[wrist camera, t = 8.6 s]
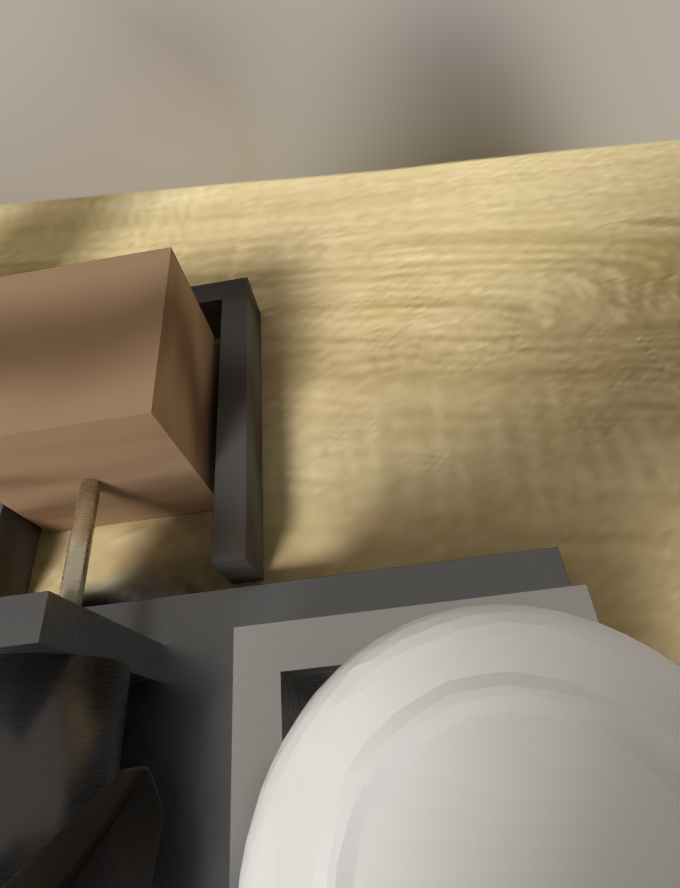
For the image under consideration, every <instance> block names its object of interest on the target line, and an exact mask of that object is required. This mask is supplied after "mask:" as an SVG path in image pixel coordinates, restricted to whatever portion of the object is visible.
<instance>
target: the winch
mask: <svg viewBox="0 0 680 888" xmlns="http://www.w3.org/2000/svg"><path fill="white" fill-rule="evenodd" d="M101 486H102V483H101V481H99V480H97V479H93V478H86V479H82V480H81V482H80V488H79V493H78V498H77V503H76V509H75V514H74V519H73V524H72V530H71V535H70V540H69V545H68V550H67V556H66V561H65V566H64V571H63V577H62V582H61V587H60V592H59V595H56V594H54V593H52V592H50V591H44V592H36V593H28V594H21V595H13V596H5V597H0V888H2V887H3V886H4V885H5V884H6V883H7V882H8V881H9V880H10V879H11V878H12V877H13V876H14V875H15V874H16V873H17V872H18V871H19V870H20V869H21V868H22V867H23V866H24V865H25V864H26V863H27V862H28V861H29V860H30V859H31V858H32V857H33V856H34V855H35V854H36V853H37V852H38V851H39V850H40V849H41V848H42V847H43V846H44V845H45V844H46V843H47V842H48V841H50V840H51V839H52V838H53V837H54V836H55V835H56V834H57V833H58V832H59V831H60V830H61V829H62V828H63V827H64V826H65V825H66V824H67V823H68V822H69V821H70V820H71V819H72V818H73V817H74V816H75V815H76V814H77V813H78V812H79V811H80V810H81V809H82V808H83V807H84V806H85V805H86V804H87V803H88V802H89V801H90V800H91V799H92V798H93V797H94V796H95V795H96V794H97V793H98V792H99V791H100V790H101V789H102V788H103V787H104V786H105V785H106V784H107V783H108V782H109V781H110V780H111V779H112V778H113V777H115V776H116V775H117V774H118V773H119V772H120V771H122V770H124V769H128V768H134V767H140V766H145V767H147V768H148V769H149V770H150V772H151V774H152V777H153V780H154V783H155V786H156V789H157V792H158V795H159V798H160V801H161V804H162V810H163V821H162V827H161V832H160V838H159V843H158V849H157V854H156V860H155V865H154V871H153V876H152V881H151V887H150V888H239V878H240V871H241V866H242V860H243V855H244V850H245V844H246V840H247V836H248V832H249V829H250V825H251V822H252V818H253V815H254V811H255V808H256V805H257V801H258V798H259V795H260V791H261V788H262V786H263V783H264V781H265V778H266V776H267V773H268V771H269V769H270V766H271V764H272V762H273V760H274V758H275V756H276V754H277V751H278V749H279V747H280V745H281V743H282V741H283V740H284V738H285V736H286V735H287V733H288V732H289V730H290V729H291V727H292V725H293V724H294V722H295V721H296V719H297V717H298V716H299V714H300V713H301V711H302V710H303V708H304V707H305V706H306V704H307V703H308V702H309V700H310V699H311V698H312V696H313V695H314V693H315V692H316V691H317V690H318V689H319V688H320V687H321V686H322V685H323V684H324V683H325V682H326V681H327V680H328V679H329V678H330V677H331V675H332V674H333V673H334V672H335V671H336V670H337V669H338V668H339V667H340V666H341V665H343V664H344V663H345V662H346V661H347V660H348V659H350V658H351V657H352V656H353V655H354V654H355V653H357V652H358V651H360V650H361V649H363V648H364V647H366V646H367V645H369V644H370V643H372V642H373V641H375V640H376V639H378V638H379V637H381V636H383V635H385V634H387V633H389V632H390V631H392V630H394V629H396V628H398V627H400V626H402V625H404V624H406V623H409V622H411V621H414V620H416V619H419V618H421V617H424V616H427V615H430V614H434V613H438V612H443V611H447V610H452V609H457V608H462V607H468V606H480V605H493V604H498V605H523V606H530V607H537V608H544V609H551V610H557V611H560V612H564V613H567V614H571V615H575V616H578V617H582V618H586V619H588V620H591V621H594V622H597V623H599V621H598V618H597V615H596V612H595V609H594V606H593V603H592V600H591V597H590V594H589V591H588V588H587V585H586V584H585V585H577V586H570V584H569V581H568V578H567V574H566V571H565V568H564V565H563V562H562V559H561V556H560V552H559V549H558V547H553V548H545V549H538V550H530V551H522V552H514V553H506V554H498V555H491V556H483V557H475V558H467V559H459V560H451V561H444V562H436V563H428V564H420V565H412V566H404V567H396V568H389V569H381V570H373V571H365V572H357V573H349V574H342V575H334V576H326V577H318V578H310V579H302V580H294V581H287V582H279V583H271V584H263V585H255V586H247V587H240V588H232V589H224V590H216V591H208V592H200V593H193V594H185V595H177V596H169V597H161V598H153V599H145V600H138V601H130V602H122V603H114V604H106V605H98V606H91V607H82V600H83V594H84V588H85V582H86V576H87V570H88V564H89V558H90V552H91V546H92V540H93V534H94V528H95V522H96V516H97V510H98V504H99V498H100V492H101Z"/></svg>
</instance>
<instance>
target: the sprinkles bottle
mask: <svg viewBox="0 0 680 888" xmlns="http://www.w3.org/2000/svg"><path fill="white" fill-rule="evenodd" d="M239 888H680V666H679V665H678V664H676V663H674V662H673V661H671V660H670V659H668V658H667V657H665V656H664V655H662V654H660V653H659V652H657V651H656V650H654V649H653V648H651V647H649V646H647V645H645V644H643V643H641V642H639V641H637V640H635V639H633V638H632V637H630V636H628V635H626V634H624V633H621V632H619V631H617V630H615V629H612V628H610V627H608V626H606V625H603V624H600V623H597V622H594V621H591V620H588V619H586V618H582V617H578V616H575V615H571V614H567V613H564V612H560V611H557V610H551V609H544V608H537V607H530V606H523V605H498V604H493V605H480V606H468V607H462V608H457V609H452V610H447V611H443V612H438V613H434V614H430V615H427V616H424V617H421V618H419V619H416V620H414V621H411V622H409V623H406V624H404V625H402V626H400V627H398V628H396V629H394V630H392V631H390V632H389V633H387V634H385V635H383V636H381V637H379V638H378V639H376V640H375V641H373V642H372V643H370V644H369V645H367V646H366V647H364V648H363V649H361V650H360V651H358V652H357V653H355V654H354V655H353V656H352V657H351V658H350V659H348V660H347V661H346V662H345V663H344V664H343V665H341V666H340V667H339V668H338V669H337V670H336V671H335V672H334V673H333V674H332V675H331V677H330V678H329V679H328V680H327V681H326V682H325V683H324V684H323V685H322V686H321V687H320V688H319V689H318V690H317V691H316V692H315V693H314V695H313V696H312V698H311V699H310V700H309V702H308V703H307V704H306V706H305V707H304V708H303V710H302V711H301V713H300V714H299V716H298V717H297V719H296V721H295V722H294V724H293V725H292V727H291V729H290V730H289V732H288V733H287V735H286V736H285V738H284V740H283V741H282V743H281V745H280V747H279V749H278V751H277V754H276V756H275V758H274V760H273V762H272V764H271V766H270V769H269V771H268V773H267V776H266V778H265V781H264V783H263V786H262V788H261V791H260V795H259V798H258V801H257V805H256V808H255V811H254V815H253V818H252V822H251V825H250V829H249V832H248V836H247V840H246V844H245V850H244V855H243V860H242V866H241V871H240V878H239Z"/></svg>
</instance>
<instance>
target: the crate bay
mask: <svg viewBox="0 0 680 888" xmlns="http://www.w3.org/2000/svg"><path fill="white" fill-rule="evenodd" d="M218 337H221V340H220V347H219V345H218V343H217V341H216V339H215V338H218ZM86 478H93V479H97V480H99V481H101V483H102V486H101V492H100V498H99V504H98V510H97V516H96V522H95V526H101V525H108V524H116V523H123V522H130V521H137V520H145V519H152V518H159V517H166V516H174V515H181V514H188V513H195V512H203V511H210V510H213V533H212V557H211V564H212V565H213V566H214V567H215V568H216V569H217V570H219V571H220V572H221V573H222V574H223V575H224V576H225V577H226V578H227V579H228V580H229V581H230V582H231V583H232V584H235V583H243V582H251V581H259V580H263V502H262V416H261V329H260V311H259V309H258V306H257V303H256V300H255V297H254V295H253V292H252V289H251V286H250V283H249V281H248V278H241V279H235V280H229V281H223V282H217V283H211V284H205V285H199V286H193V287H190V285H189V283H188V281H187V279H186V277H185V275H184V273H183V271H182V269H181V267H180V265H179V262H178V260H177V258H176V256H175V254H174V252H173V250H172V248H171V247H170V248H164V249H158V250H152V251H147V252H141V253H135V254H129V255H123V256H118V257H112V258H106V259H100V260H94V261H89V262H83V263H77V264H71V265H65V266H60V267H54V268H48V269H42V270H36V271H31V272H25V273H19V274H13V275H7V276H2V277H0V597H5V596H13V595H21V594H26V593H27V588H28V584H29V579H30V575H31V570H32V566H33V562H34V557H35V553H36V548H37V544H38V539H39V535H40V530H41V528H42V529H44V530H45V531H47V532H48V533H50V532H57V531H65V530H72V524H73V519H74V514H75V509H76V503H77V498H78V493H79V488H80V482H81V480H82V479H86Z"/></svg>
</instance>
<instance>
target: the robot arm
mask: <svg viewBox="0 0 680 888" xmlns="http://www.w3.org/2000/svg"><path fill="white" fill-rule="evenodd" d="M162 821H163V810H162V804H161V801H160V798H159V795H158V792H157V789H156V786H155V783H154V780H153V777H152V774H151V772H150V770H149V769H148V768H147V767H145V766H140V767H134V768H128V769H124V770H122V771H120V772H119V773H118V774H117V775H116V776H115V777H113V778H112V779H111V780H110V781H109V782H108V783H107V784H106V785H105V786H104V787H103V788H102V789H101V790H100V791H99V792H98V793H97V794H96V795H95V796H94V797H93V798H92V799H91V800H90V801H89V802H88V803H87V804H86V805H85V806H84V807H83V808H82V809H81V810H80V811H79V812H78V813H77V814H76V815H75V816H74V817H73V818H72V819H71V820H70V821H69V822H68V823H67V824H66V825H65V826H64V827H63V828H62V829H61V830H60V831H59V832H58V833H57V834H56V835H55V836H54V837H53V838H52V839H51V840H50V841H48V842H47V843H46V844H45V845H44V846H43V847H42V848H41V849H40V850H39V851H38V852H37V853H36V854H35V855H34V856H33V857H32V858H31V859H30V860H29V861H28V862H27V863H26V864H25V865H24V866H23V867H22V868H21V869H20V870H19V871H18V872H17V873H16V874H15V875H14V876H13V877H12V878H11V879H10V880H9V881H8V882H7V883H6V884H5V885H4V886H3V887H2V888H150V887H151V881H152V876H153V871H154V865H155V860H156V854H157V849H158V843H159V838H160V832H161V827H162Z"/></svg>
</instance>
